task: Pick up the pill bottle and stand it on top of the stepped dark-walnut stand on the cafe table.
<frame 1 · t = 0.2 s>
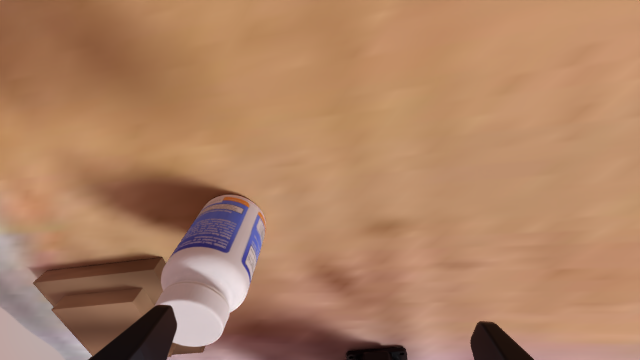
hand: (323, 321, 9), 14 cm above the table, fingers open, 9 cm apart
walnut stand: (133, 307, 30), on the table
pill bottle: (236, 218, 25), on the table
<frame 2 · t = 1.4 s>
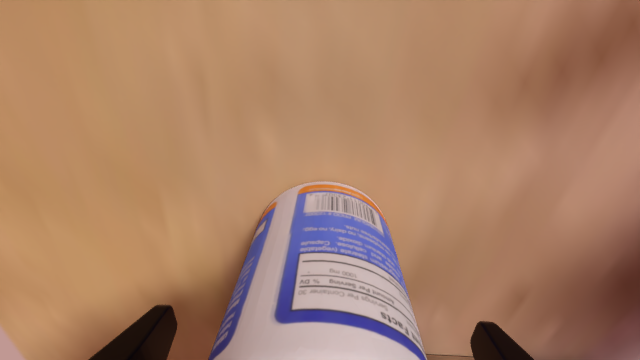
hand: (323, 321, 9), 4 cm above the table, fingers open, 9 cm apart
pill bottle: (323, 229, 13), on the table
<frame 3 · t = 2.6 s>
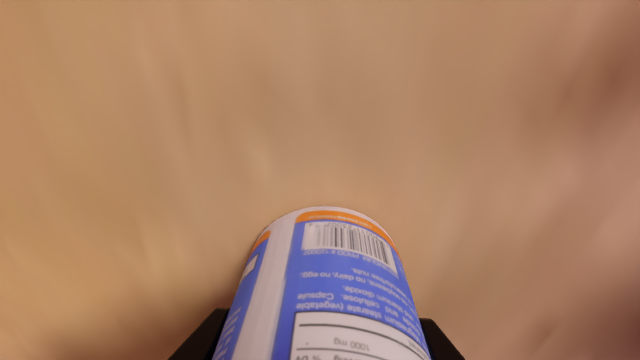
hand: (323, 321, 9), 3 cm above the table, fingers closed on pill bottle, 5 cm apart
pill bottle: (325, 257, 11), on the table, touching gripper
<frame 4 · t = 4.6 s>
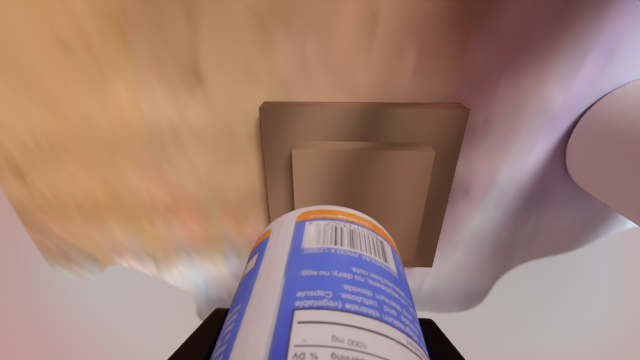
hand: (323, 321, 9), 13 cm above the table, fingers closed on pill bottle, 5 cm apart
walnut stand: (355, 187, 21), on the table
pill bottle: (326, 256, 11), point 10 cm above the table, touching gripper
pill bottle 2: (627, 135, 19), on the table
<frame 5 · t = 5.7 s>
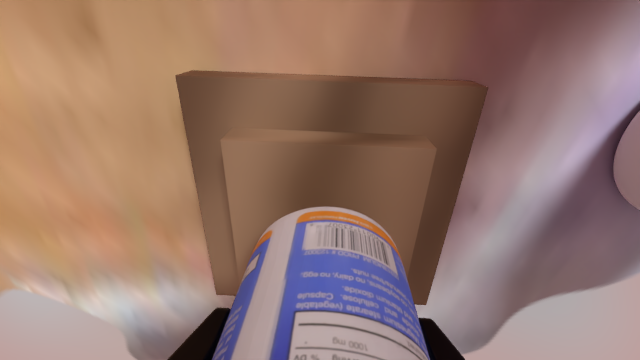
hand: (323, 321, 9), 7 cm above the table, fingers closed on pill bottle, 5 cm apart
walnut stand: (325, 196, 15), on the table
pill bottle: (326, 257, 11), point 5 cm above the table, touching gripper
when the fingers open (6 cm above the table, at t = 6.7 s): pill bottle stays where it is, resting on walnut stand.
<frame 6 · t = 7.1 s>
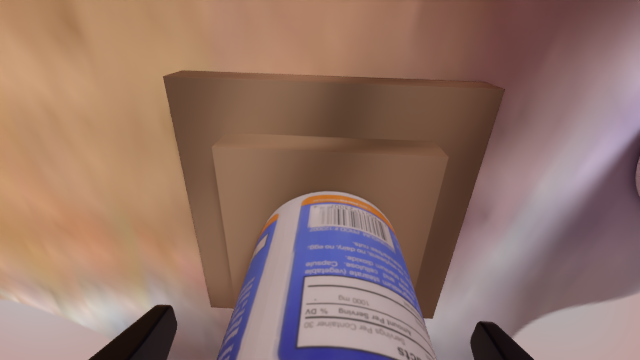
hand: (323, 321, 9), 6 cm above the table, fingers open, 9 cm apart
walnut stand: (326, 204, 14), on the table
pill bottle: (328, 241, 12), point 3 cm above the table, touching walnut stand
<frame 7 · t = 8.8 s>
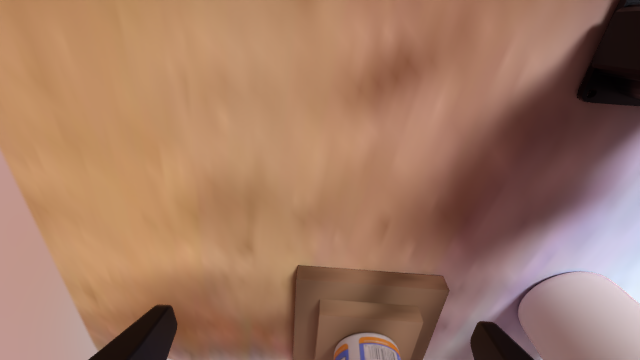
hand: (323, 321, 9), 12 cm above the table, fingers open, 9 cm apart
walnut stand: (360, 318, 27), on the table
pill bottle: (365, 348, 25), point 3 cm above the table, touching walnut stand
pill bottle 2: (562, 300, 25), on the table
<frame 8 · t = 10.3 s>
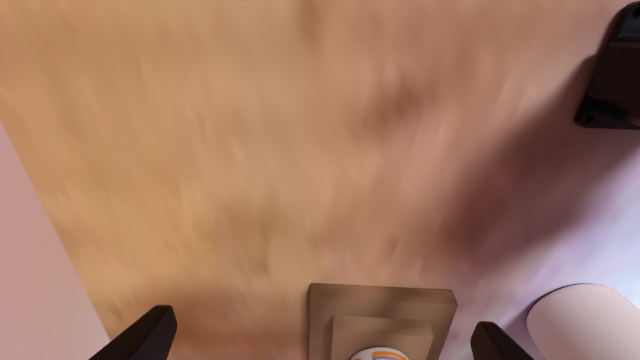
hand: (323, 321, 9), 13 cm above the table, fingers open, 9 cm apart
walnut stand: (373, 331, 28), on the table
pill bottle 2: (570, 310, 26), on the table
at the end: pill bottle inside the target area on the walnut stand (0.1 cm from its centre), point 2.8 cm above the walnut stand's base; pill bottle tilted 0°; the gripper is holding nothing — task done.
